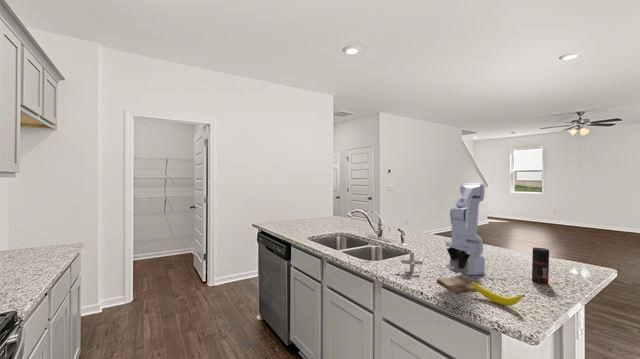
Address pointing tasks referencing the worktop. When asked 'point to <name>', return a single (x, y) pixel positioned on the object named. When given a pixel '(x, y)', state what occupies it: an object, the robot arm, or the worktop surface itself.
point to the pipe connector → (412, 262)
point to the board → (457, 284)
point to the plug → (457, 266)
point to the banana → (497, 296)
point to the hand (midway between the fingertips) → (458, 266)
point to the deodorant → (540, 266)
